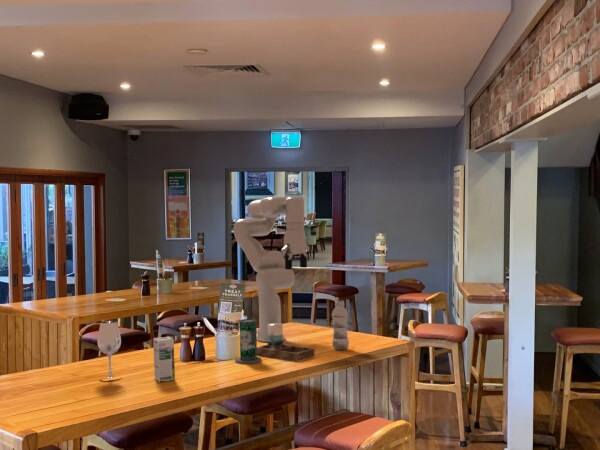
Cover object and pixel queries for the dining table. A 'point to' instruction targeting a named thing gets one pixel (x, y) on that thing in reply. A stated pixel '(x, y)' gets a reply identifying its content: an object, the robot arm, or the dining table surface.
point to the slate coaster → (247, 361)
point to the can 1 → (248, 340)
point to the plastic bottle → (340, 326)
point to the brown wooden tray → (287, 352)
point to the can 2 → (275, 336)
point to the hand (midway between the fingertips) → (296, 268)
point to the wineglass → (109, 340)
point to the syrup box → (164, 359)
